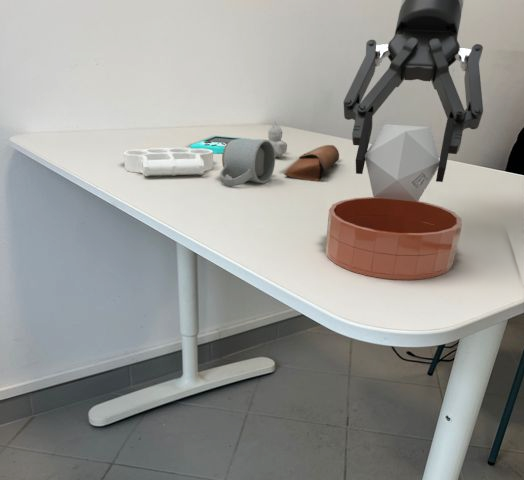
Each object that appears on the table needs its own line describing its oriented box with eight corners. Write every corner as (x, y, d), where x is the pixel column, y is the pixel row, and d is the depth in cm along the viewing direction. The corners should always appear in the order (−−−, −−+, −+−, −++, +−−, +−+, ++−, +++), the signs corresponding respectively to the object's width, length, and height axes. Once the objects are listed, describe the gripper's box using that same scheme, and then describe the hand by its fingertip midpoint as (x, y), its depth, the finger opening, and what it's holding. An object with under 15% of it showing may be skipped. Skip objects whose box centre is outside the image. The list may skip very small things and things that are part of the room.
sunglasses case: (301, 158, 121) (318, 132, 117) (326, 177, 122) (344, 151, 118) (282, 175, 106) (301, 145, 102) (310, 196, 107) (330, 168, 103)
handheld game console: (188, 150, 128) (188, 144, 127) (214, 140, 141) (214, 134, 141) (228, 154, 126) (228, 148, 125) (250, 143, 139) (250, 138, 138)
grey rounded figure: (278, 154, 127) (280, 117, 123) (292, 159, 122) (294, 121, 118) (258, 155, 125) (259, 118, 121) (271, 161, 120) (273, 122, 116)
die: (401, 217, 61) (464, 142, 58) (341, 168, 62) (401, 92, 59) (402, 223, 69) (457, 158, 67) (349, 179, 70) (401, 113, 67)
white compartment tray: (126, 179, 101) (124, 163, 113) (220, 177, 105) (208, 161, 118) (125, 161, 100) (122, 147, 112) (220, 159, 104) (208, 145, 116)
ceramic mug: (240, 173, 109) (240, 132, 105) (275, 179, 105) (276, 137, 101) (209, 184, 101) (208, 141, 97) (246, 190, 97) (246, 146, 93)
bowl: (452, 243, 75) (460, 204, 72) (452, 288, 61) (463, 241, 59) (337, 230, 79) (341, 192, 76) (314, 268, 65) (317, 224, 63)
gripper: (513, 40, 68) (489, 198, 63) (346, 34, 73) (311, 180, 68) (530, -14, 61) (505, 159, 56) (344, -17, 66) (305, 142, 61)
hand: (399, 170), depth 62 cm, fingers closed on die, 8 cm apart
